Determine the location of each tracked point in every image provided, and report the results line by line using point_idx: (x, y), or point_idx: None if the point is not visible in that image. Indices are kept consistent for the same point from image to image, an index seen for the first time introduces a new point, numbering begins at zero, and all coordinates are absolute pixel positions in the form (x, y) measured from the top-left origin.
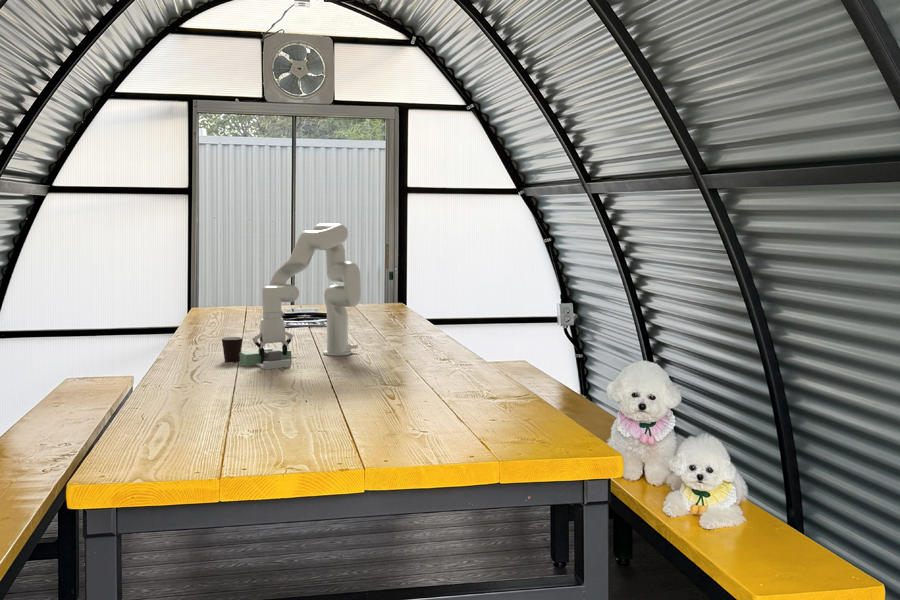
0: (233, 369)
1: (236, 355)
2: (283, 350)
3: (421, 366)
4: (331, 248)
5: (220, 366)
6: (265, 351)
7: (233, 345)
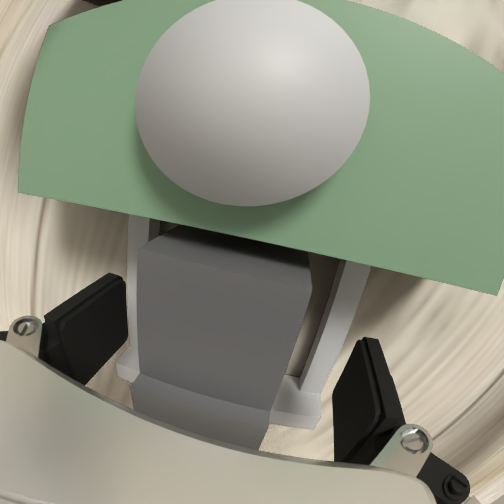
0: (26, 225)
1: None
2: (350, 398)
3: (498, 481)
4: None
5: (18, 104)
6: (149, 274)
7: None
